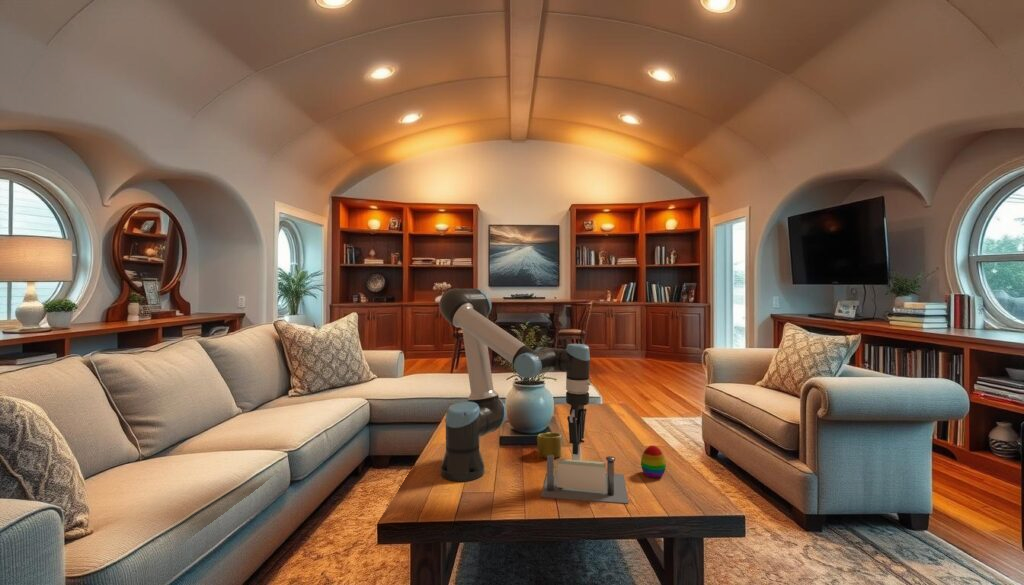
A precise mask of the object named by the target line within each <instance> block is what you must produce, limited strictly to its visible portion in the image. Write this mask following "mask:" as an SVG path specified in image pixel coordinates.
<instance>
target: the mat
mask: <svg viewBox="0 0 1024 585" xmlns="http://www.w3.org/2000/svg"><path fill="white" fill-rule="evenodd" d="M625 479H626V478H625V473H614V495H613V496H609V495H607V472H605V492H602V491H591V490H581V489H570V488H563V489H561V490H560V489H559V488H558V487H557V469H556V475H555V476H554V491H547V475H545V480H544V485H543V488H542V493H541V494H540V495H541V496H540V498H546V499H559V500H570V501H571V500H574V501H575V500H576V501H584V502H585V501H587V502H599V503H608V504H609V503H613V504H625V505H629V499H628V498H629V497H628V491H627V486H626V480H625Z"/></svg>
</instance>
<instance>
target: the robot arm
mask: <svg viewBox="0 0 1024 585" xmlns="http://www.w3.org/2000/svg"><path fill="white" fill-rule="evenodd" d="M438 304H439V305H438V307H439V312H440V314H441V315H442V317H443V318H444V319H445V321H447V322H448V323H450V324H451V325H452V326H454V327H455V328H460V329H461V330H462V336H463V345H464V352H465V359H466V366H467V367H466V368H467V375H468V380H469V389H470V395H468V397H467V401H461V402H456V403H453V404H452V405H450V406H448V407H447V409H446V411H445V418H444V420H445V422H444V423H445V453H444V456H443V459H442V462H441V465H440V476H441V477H442V478H443V479H445V480H447V481H452V482H469V481H473V480H478V479H479V478H481V477H483V476H484V474H485V464H484V460H483V457H482V454H481V451H480V438H482V437H483V436H486V435H488V434H491V433H494V432H495V431H497V430H498V429H500V428H501V427H502V426H504V423H505V422H506V420H507V415H508V411H507V407H506V405H505V403H504V402H503V401H502V399H501V398H499V397H500V396H499V393H498V392H496V391H495V389H494V383H493V376H492V375H493V374H492V369H491V368H492V367H491V361H490V360H491V359H490V354H489V353H490V352H489V348H490V349H491V350H492V351H494V352H495V353H496V354H498V355H499V356H501V357H502V358H503V359H505V360H506V361H507V362H509V363H510V364H512V365H514V366H513V367H514V370H515V372H516V373H517V375H518V376H519V377H521V378H525V379H526V378H534V377H536V376H538V375H541V374H545V373H548V372H562V373H565V376H566V378H565V390H566V392H565V402H566V404H568V405H570V409H569V415H567V419H566V420H567V424H568V436H569V438H568V439H569V440H568V443H569V444H571V460H582V443H585V440H583V439H584V438H585V436H584V435H585V426H586V414H587V412H588V411H587V408H585V406H587V405H589V402H590V392H589V391H590V386H591V384H592V383H591V381H590V368H591V367H590V365H591V363H590V362H591V356H590V347H589V346H588V345H587V344H584V343H569V344H567V346H566V348H565V349H564V348H563V349H562V348H554V347H548V346H544V347H542V346H541V347H540V346H539V347H536V348H535V350H534V349H532V348H531V347H529V346H527V344H525V343H523V342H522V341H520V340H519V339H518V338H516V337H515V336H514V335H512V334H511V333H510V332H508V331H507V330H505V329H503V328H501V327H500V326H499V325H497V324H496V323H494V322H493V321H491V320H490V319H489V318H488V316H489V315H490V314H491V311H492V307H493V306H492V300H491V298H490V296H489V294H488V293H487V292H485V291H484V290H482V289H480V288H474V287H472V288H457V287H456V288H451V289H448V290H446V291H445V292H444V293H443V294H442V295H441V297H440V299H439V303H438Z"/></svg>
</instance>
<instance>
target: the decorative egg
mask: <svg viewBox="0 0 1024 585" xmlns="http://www.w3.org/2000/svg"><path fill="white" fill-rule="evenodd" d="M640 458H641V459H640V467H641V470H642V472H643V474H644V475H645V476H646V477H648V478H652V479H659V478H662V476H663V475H664V474H665V471H666V468H667V465H666V463H667V462H666V459H665V458H666V457H665V455H664V453H663V451H662V450H661V449H660V448H659V447H657V446H656V445H649V446H648V447H646V448H645V450H644V451H643V452H642V455H641V457H640Z"/></svg>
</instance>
